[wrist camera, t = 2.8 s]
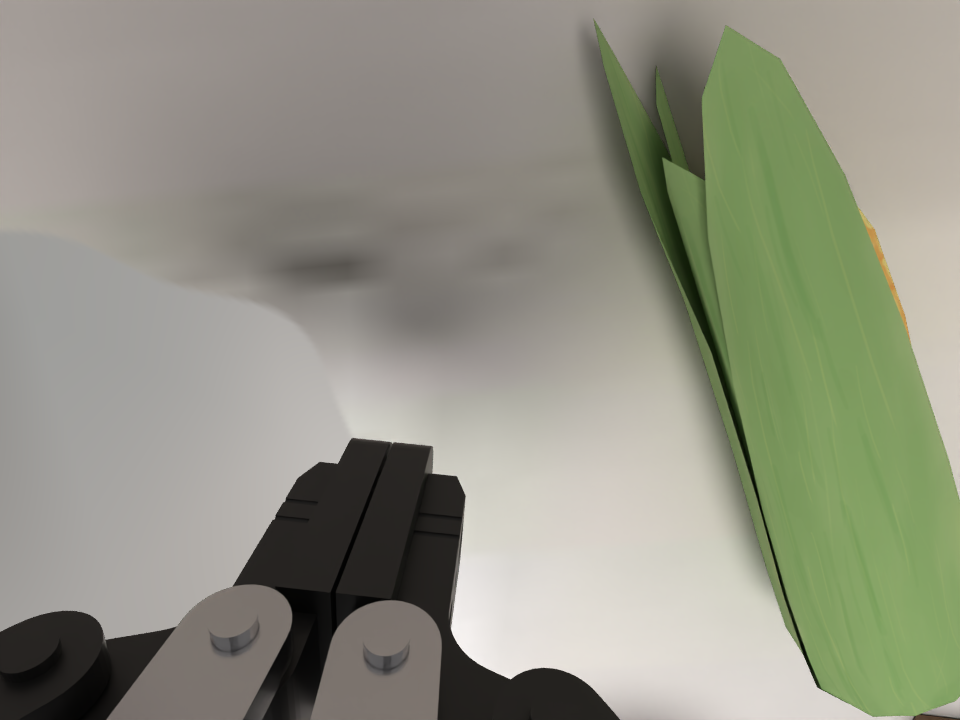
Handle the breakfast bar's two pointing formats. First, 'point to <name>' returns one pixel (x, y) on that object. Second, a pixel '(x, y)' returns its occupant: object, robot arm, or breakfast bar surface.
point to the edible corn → (810, 381)
